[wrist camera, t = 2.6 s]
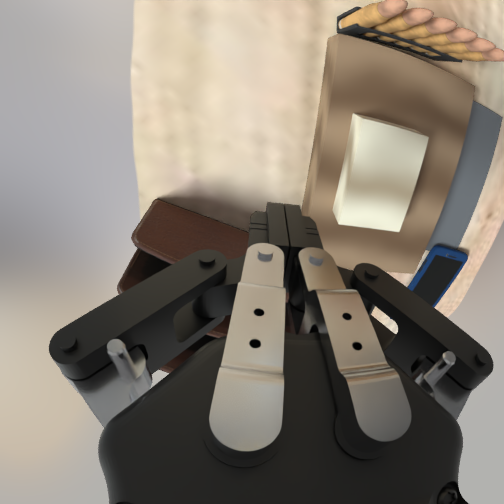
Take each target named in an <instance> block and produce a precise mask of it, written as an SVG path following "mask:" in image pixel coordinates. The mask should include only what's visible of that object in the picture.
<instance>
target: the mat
mask: <svg viewBox="0 0 504 504" xmlns="http://www.w3.org/2000/svg"><path fill="white" fill-rule="evenodd" d="M502 118H503V117H501V116H499V115H498V114H496V113H495V112H493V111H491V110H489V109H488V108H486V107H484V106H483V105H481V104H479V103H477V102H475V101H473V103H472V108H471V113H470V118H469V122H468V127H467V131H466V135H465V139H464V143H463V147H462V150H461V154H460V157H459V161H458V164H457V167H456V171H455V174H454V177H453V180H452V183H451V186H450V189H449V192H448V195H447V197H446V200H445V203H444V206H443V208H442V211H441V213H440V216H439V219H438V221H437V224H436V226H435V228H434V231H433V233H432V235H431V238H430V240H429V242H428V245H427V247H426V249H425V250H429V251H430V250H431V249H432V248H433V247H434V246H435V245H441V246H444V247H448V248H451V249H454V250H457V248H458V246H459V244H460V242H461V240H462V238H463V235H464V233H465V231H466V229H467V227H468V224H469V222H470V220H471V217H472V215H473V212H474V210H475V207H476V205H477V202H478V200H479V197H480V194H481V191H482V189H483V186H484V183H485V180H486V177H487V174H488V171H489V168H490V164H491V161H492V158H493V154H494V151H495V147H496V143H497V139H498V135H499V131H500V127H501V122H502Z"/></svg>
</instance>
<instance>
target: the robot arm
mask: <svg viewBox="0 0 504 504" xmlns="http://www.w3.org/2000/svg"><path fill="white" fill-rule="evenodd" d="M286 293H289V299H288V303H287V311H288V317H289V322H290V328H291V333H288V332H284V331H285V297H286ZM375 306H376V307H377V308H379V309H380V310H381V311H383V312H384V313H385V314H386V315H388V316H389V317H390V318H391V319H393V320H394V321H395V322H396V323H397V325H398V333H397V334H394V333H393V332H392V331H390V330H389V329H388V328H387V327H385V326H384V325H383V324H382V323H380V322H379V321H378V320H377V319H376V318H374V317H373V316H372V315H371V313H372V311H373V309H374V307H375ZM227 315H231V320H230V325H229V330H228V335H226V336H223V337H220V338H217V339H215V340H213V341H210V342H209V343H207V344H206V345H204V346H203V347H201V348H200V349H199V350H198V351H196V352H195V353H194V354H193V355H192V356H190V357H189V358H188V359H187V360H185V361H184V362H183V363H182V364H181V365H179V366H178V367H177V368H176V369H174V370H173V371H172V372H171V373H170V374H168V375H167V376H166V377H165V378H163V379H162V380H161V381H160V382H158V383H157V384H156V385H155V386H153V387H152V388H151V389H150V387H151V384H152V375H151V374H153V373H154V372H156V371H157V370H158V369H160V368H161V367H163V366H164V365H165V364H167V363H168V362H169V361H171V360H172V359H173V358H175V357H176V356H177V355H179V354H180V353H182V352H183V351H184V350H186V349H187V348H188V347H190V346H191V345H192V344H194V343H195V342H196V341H198V340H199V339H200V338H202V337H203V336H204V335H205V334H207V333H208V332H209V331H211V330H212V329H213V328H215V327H216V326H217V325H219V324H220V323H221V322H222V321H223V320H224V318H225V316H227ZM49 352H50V355H51V357H52V358H53V360H54V361H55V362H56V364H57V365H58V367H59V368H60V369H61V372H62V374H63V375H64V376H65V378H66V379H67V380H68V381H69V383H70V384H71V385H72V386H73V387H74V388H75V390H76V391H77V392H78V393H79V394H81V395H82V397H83V398H84V400H85V402H86V403H87V405H88V406H89V408H90V409H91V410H92V412H93V413H94V415H95V416H96V417H97V419H98V420H99V422H100V423H101V424H102V426H103V427H104V430H103V432H102V434H101V437H100V440H99V447H98V448H99V449H98V453H99V460H100V464H101V467H102V470H103V473H104V476H105V479H106V483H107V488H108V494H109V504H468V503H467V502H466V501H465V500H464V499H463V498H462V496H461V494H460V492H459V487H458V472H459V464H460V458H461V453H462V448H463V437H462V432H461V429H460V426H459V424H458V423H457V421H456V420H457V419H458V417H459V415H460V413H461V411H462V409H463V407H464V405H465V403H466V401H467V399H468V397H469V395H470V393H471V392H472V391H473V390H474V389H475V388H476V387H477V386H478V385H479V384H480V383H481V382H482V381H483V380H484V379H485V378H486V377H488V376H489V375H490V373H491V372H492V370H493V360H492V358H491V356H490V354H489V353H488V351H487V350H486V349H485V348H484V347H482V346H481V345H480V344H479V343H478V342H476V341H475V340H474V339H473V338H471V337H470V336H469V335H468V334H467V333H465V332H464V331H463V330H462V329H460V328H459V327H458V326H457V325H455V324H454V323H453V322H452V321H450V320H449V319H448V318H447V317H445V316H444V315H443V314H441V313H440V312H439V311H438V310H436V309H435V308H434V307H432V306H431V305H430V304H428V303H427V302H426V301H424V300H423V299H422V298H420V297H419V296H418V295H416V294H415V293H414V292H412V291H411V290H410V289H408V288H407V287H406V286H404V285H403V284H402V283H400V282H399V281H397V280H396V279H395V278H393V277H392V276H390V275H389V274H388V273H386V272H385V271H383V270H382V269H381V268H379V267H377V266H375V265H373V264H370V263H360V264H357V265H356V266H355V268H354V271H352V270H348V269H345V268H342V267H339V266H337V265H336V263H335V261H334V259H333V257H332V256H331V255H330V254H329V253H328V252H327V251H325V250H324V248H323V245H322V242H321V238H320V235H319V232H318V230H317V226H316V223H315V222H314V221H313V220H312V219H311V218H310V217H309V216H302V213H301V209H300V206H299V205H291V204H284V205H283V204H281V203H271V202H267V208H266V212H257V211H255V212H254V213H253V214H252V215H251V218H250V229H249V240H248V249H247V252H246V253H245V254H244V255H243V256H241V257H239V258H235V259H229V260H227V259H226V257H225V256H224V255H223V254H222V253H221V252H219V251H216V250H210V249H205V250H199V251H196V252H194V253H192V254H190V255H189V256H187V257H185V258H183V259H181V260H180V261H178V262H176V263H174V264H172V265H171V266H169V267H167V268H165V269H163V270H162V271H160V272H158V273H156V274H154V275H153V276H151V277H149V278H147V279H146V280H144V281H142V282H140V283H139V284H137V285H135V286H133V287H131V288H130V289H128V290H126V291H124V292H123V293H121V294H119V295H118V296H116V297H114V298H113V299H111V300H109V301H107V302H106V303H104V304H102V305H101V306H99V307H97V308H95V309H93V310H92V311H90V312H88V313H87V314H85V315H83V316H82V317H80V318H78V319H77V320H75V321H73V322H72V323H70V324H68V325H67V326H65V327H63V328H62V329H60V330H59V331H57V332H56V333H55V334H54V336H53V337H52V339H51V341H50V344H49Z"/></svg>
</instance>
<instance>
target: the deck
mask: <svg viewBox="0 0 504 504" xmlns="http://www.w3.org/2000/svg"><path fill="white" fill-rule="evenodd" d="M474 92H475V86H474V85H472V84H470V83H468V82H466V81H465V80H463V79H461V78H459V77H457V76H455V75H453V74H451V73H449V72H447V71H445V70H443V69H441V68H439V67H436V66H434V65H432V64H430V63H427V62H425V61H423V60H420V59H418V58H415V57H413V56H410V55H408V54H405V53H402V52H400V51H397V50H394V49H391V48H388V47H385V46H382V45H379V44H376V43H373V42H369V41H366V40H362V39H359V38H355V37H351V36H347V35H343V34H337V35H335V36H333V37H330V38H328V42H327V51H326V59H325V67H324V75H323V82H322V89H321V96H320V103H319V110H318V117H317V123H316V130H315V136H314V142H313V149H312V155H311V160H310V166H309V172H308V178H307V183H306V189H305V194H304V200H303V205H302V210H301V213H302V216H309V217H310V218H311V219H312V220H313V221H314V222H315V223H316V226H317V230H318V232H319V235H320V238H321V242H322V245H323V248H324V250H325V251H327V252H328V253H329V254H330V255H331V256H332V257H333V259H334V261H335V263H336V265H337V266H339V267H342V268H345V269H354V268H355V266H356V265H357V264H360V263H370V264H373V265H375V266H377V267H379V268H381V269H382V270H383V271H385V272H397V273H410V274H414V272H415V270H416V268H417V266H418V264H419V262H420V260H421V258H422V256H423V254H424V251H425V249H426V247H427V245H428V242H429V240H430V238H431V235H432V233H433V231H434V228H435V226H436V224H437V221H438V219H439V216H440V213H441V211H442V208H443V206H444V203H445V200H446V197H447V195H448V192H449V189H450V186H451V183H452V180H453V177H454V174H455V171H456V167H457V164H458V161H459V157H460V154H461V150H462V147H463V143H464V139H465V135H466V131H467V127H468V122H469V118H470V113H471V108H472V103H473V97H474ZM353 113H354V114H359V115H363V116H367V117H371V118H375V119H379V120H383V121H387V122H390V123H394V124H398V125H401V126H404V127H408V128H411V129H414V130H416V131H418V132H420V133H422V134H424V135H426V136H428V137H429V139H428V143H427V147H426V151H425V154H424V158H423V162H422V165H421V169H420V172H419V175H418V179H417V182H416V185H415V188H414V191H413V195H412V198H411V201H410V204H409V206H408V209H407V212H406V215H405V218H404V221H403V223H402V226H401V229H400V231H399V232H394V231H387V230H380V229H372V228H364V227H356V226H348V225H340V224H338V222H337V220H336V217H335V215H334V213H333V206H334V202H335V197H336V193H337V189H338V185H339V180H340V176H341V171H342V166H343V162H344V157H345V152H346V147H347V142H348V137H349V132H350V126H351V121H352V115H353Z"/></svg>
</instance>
